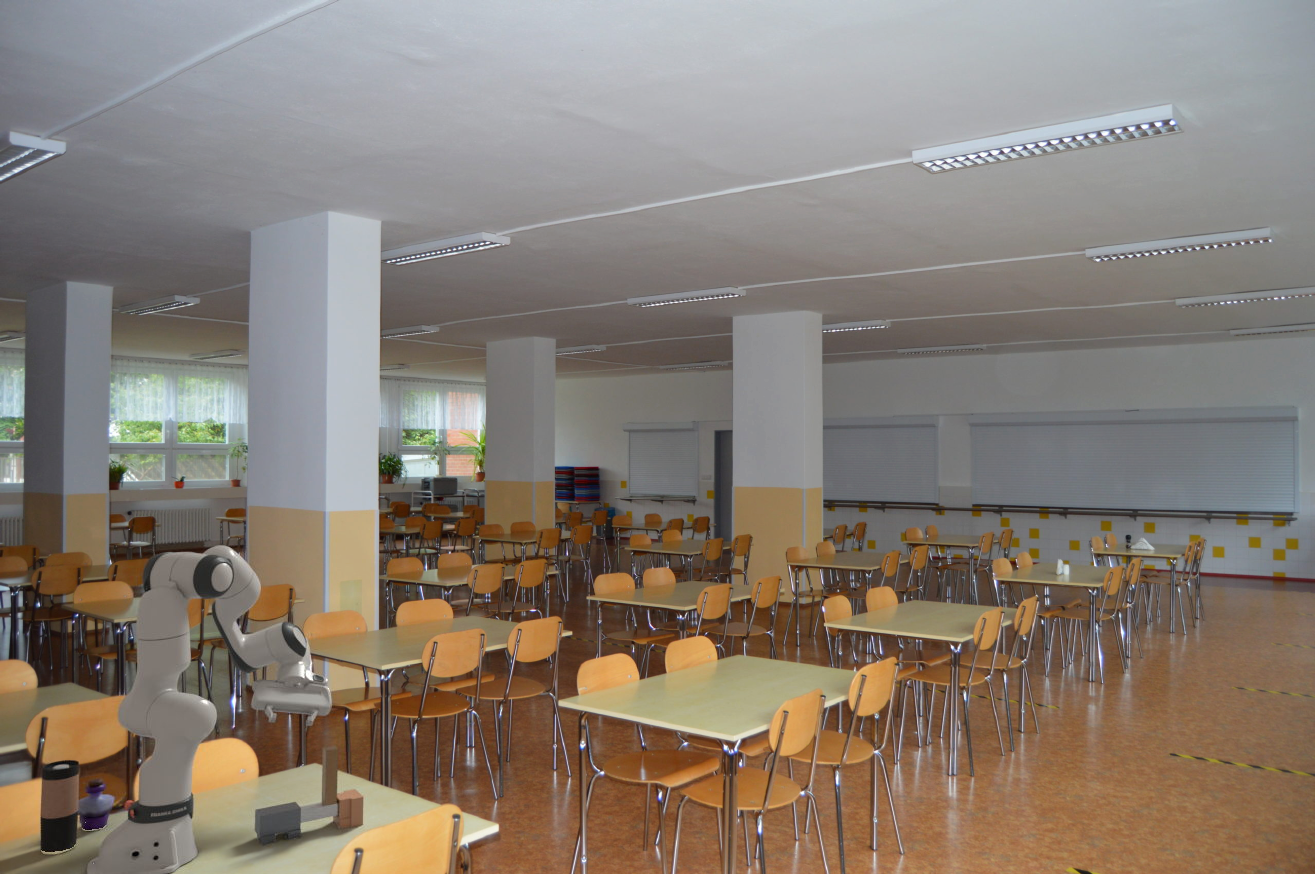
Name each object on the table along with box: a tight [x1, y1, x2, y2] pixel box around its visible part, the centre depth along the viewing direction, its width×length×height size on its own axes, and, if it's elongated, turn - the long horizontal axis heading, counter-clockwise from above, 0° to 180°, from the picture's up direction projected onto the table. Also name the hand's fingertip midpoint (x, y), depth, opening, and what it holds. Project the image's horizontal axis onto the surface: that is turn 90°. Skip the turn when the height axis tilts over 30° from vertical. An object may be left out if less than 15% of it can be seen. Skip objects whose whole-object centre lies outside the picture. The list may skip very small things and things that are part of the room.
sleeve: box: [254, 801, 302, 847], centre depth 228 cm, size 10×6×7 cm, turn 125°
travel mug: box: [39, 759, 80, 852], centre depth 221 cm, size 8×8×20 cm
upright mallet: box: [300, 745, 339, 824], centre depth 234 cm, size 14×3×17 cm, turn 125°
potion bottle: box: [78, 778, 116, 830], centre depth 233 cm, size 9×9×12 cm
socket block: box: [332, 788, 364, 830], centre depth 238 cm, size 6×7×7 cm
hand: (291, 722), depth 241 cm, fingers open, 8 cm apart
